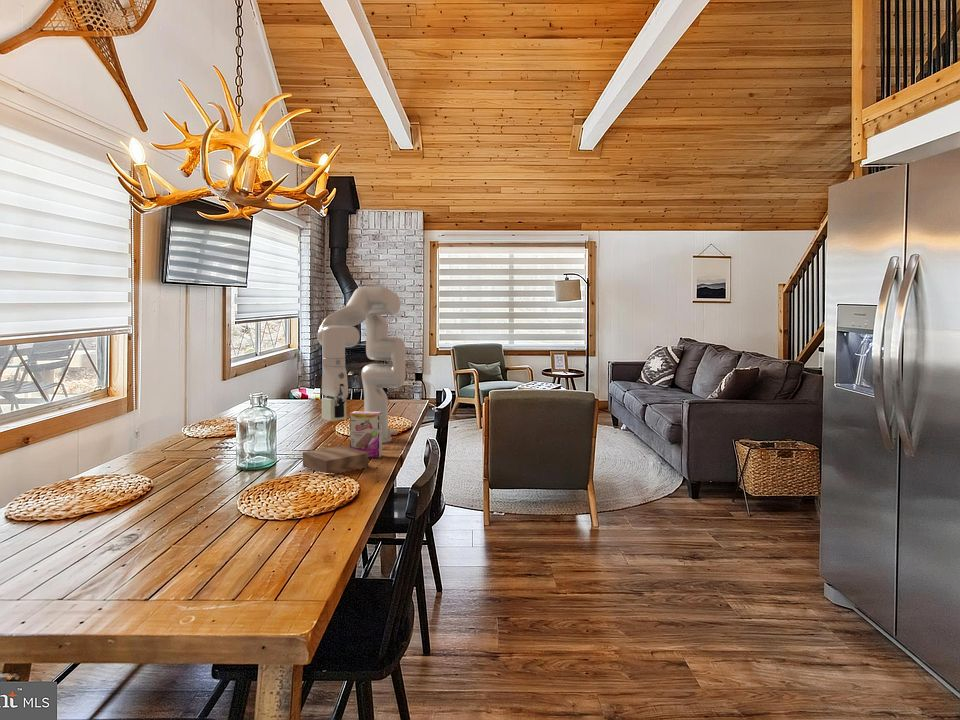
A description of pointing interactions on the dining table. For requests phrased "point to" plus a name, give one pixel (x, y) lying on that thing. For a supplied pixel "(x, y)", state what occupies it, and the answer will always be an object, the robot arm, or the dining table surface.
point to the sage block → (330, 409)
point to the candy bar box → (366, 432)
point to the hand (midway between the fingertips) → (334, 415)
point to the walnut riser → (335, 459)
